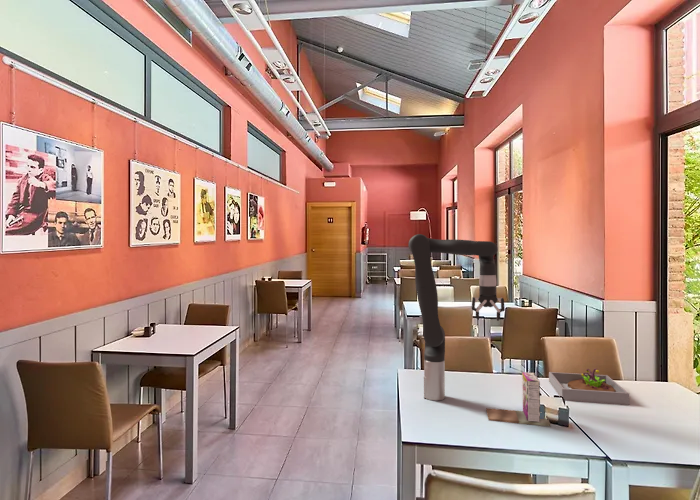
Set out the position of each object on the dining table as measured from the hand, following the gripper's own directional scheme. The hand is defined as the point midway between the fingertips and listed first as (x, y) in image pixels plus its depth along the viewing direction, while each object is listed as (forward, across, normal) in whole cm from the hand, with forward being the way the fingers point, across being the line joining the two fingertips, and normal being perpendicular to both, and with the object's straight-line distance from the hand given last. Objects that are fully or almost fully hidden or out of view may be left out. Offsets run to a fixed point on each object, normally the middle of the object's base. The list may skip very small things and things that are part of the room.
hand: (487, 320), depth 194 cm
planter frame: (+36, +46, +19) cm, 61 cm away
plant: (+37, +50, +24) cm, 67 cm away
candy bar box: (+35, +15, -20) cm, 43 cm away
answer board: (+36, +10, -20) cm, 43 cm away
